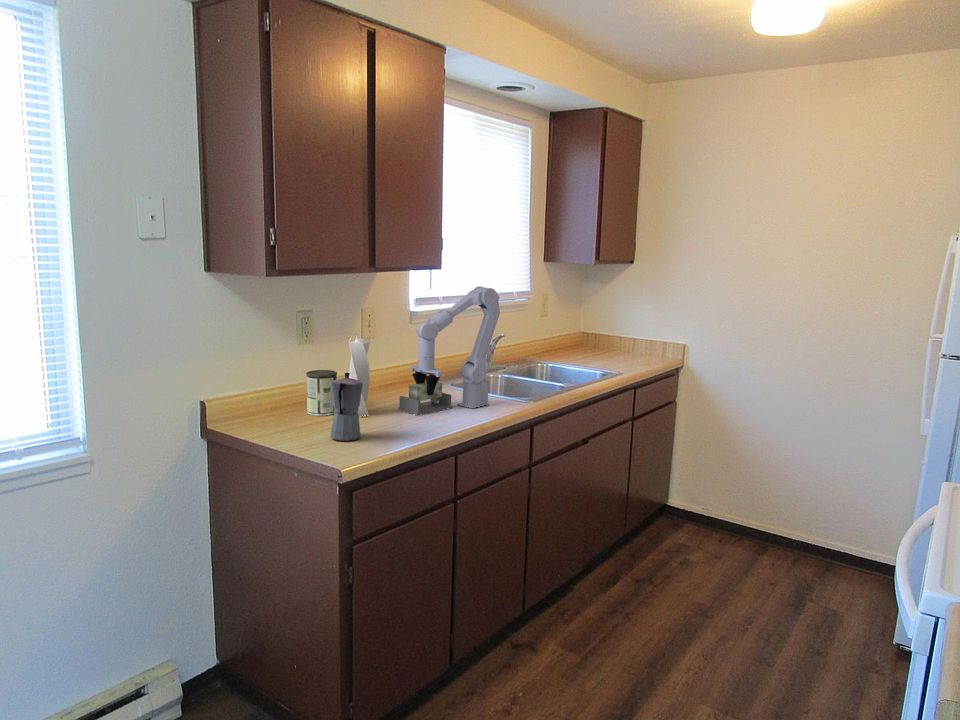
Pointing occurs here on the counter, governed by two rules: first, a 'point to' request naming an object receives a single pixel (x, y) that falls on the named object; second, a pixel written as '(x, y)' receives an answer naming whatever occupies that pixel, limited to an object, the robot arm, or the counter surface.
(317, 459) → the counter surface
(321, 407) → the coffee can
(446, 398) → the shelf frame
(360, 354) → the skyscraper
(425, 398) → the olive green rectangular block
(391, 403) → the counter surface
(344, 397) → the moka pot
